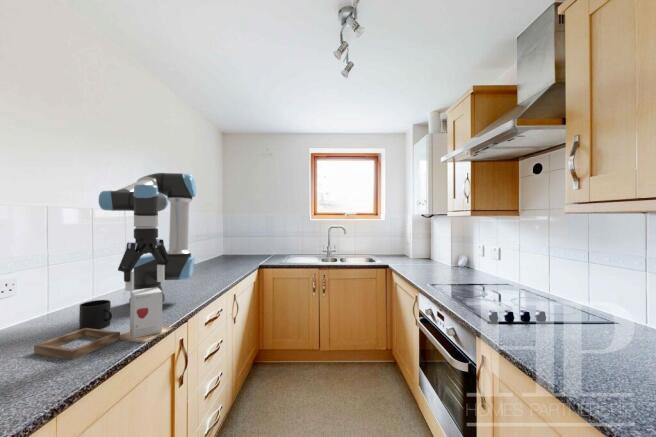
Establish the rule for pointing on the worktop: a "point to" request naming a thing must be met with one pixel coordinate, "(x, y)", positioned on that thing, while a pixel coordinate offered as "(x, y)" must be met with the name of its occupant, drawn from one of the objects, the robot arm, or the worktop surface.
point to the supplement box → (146, 312)
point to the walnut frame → (52, 345)
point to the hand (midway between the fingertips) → (146, 286)
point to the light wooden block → (144, 339)
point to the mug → (95, 314)
